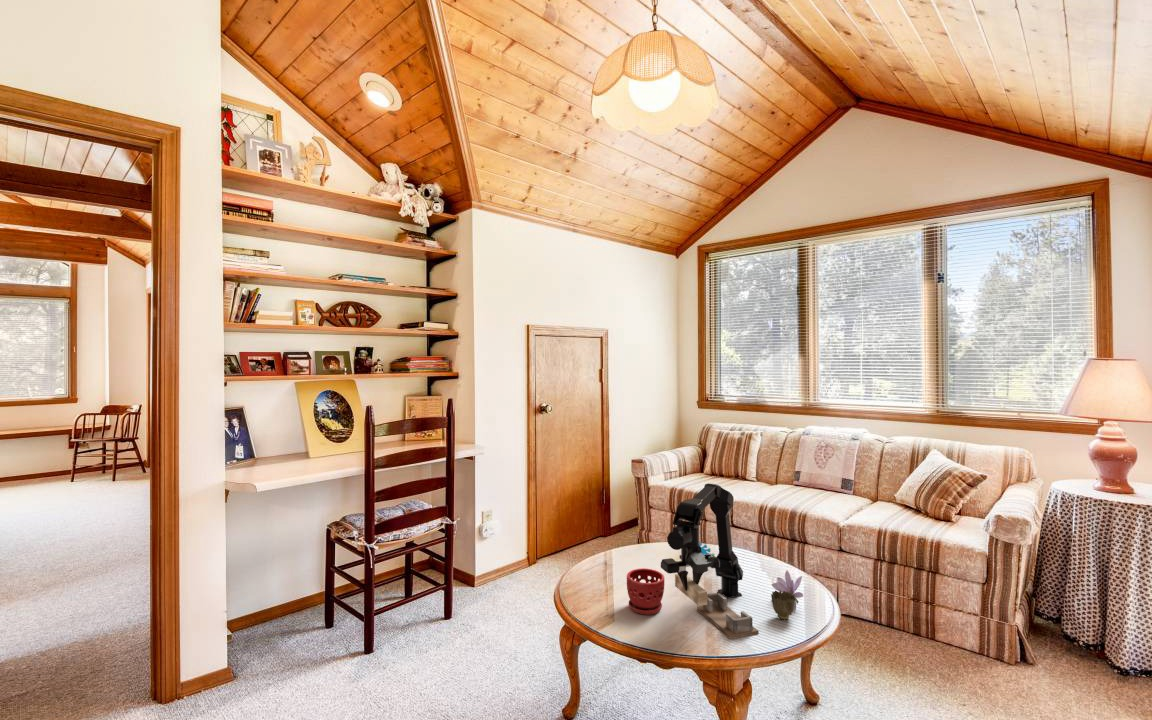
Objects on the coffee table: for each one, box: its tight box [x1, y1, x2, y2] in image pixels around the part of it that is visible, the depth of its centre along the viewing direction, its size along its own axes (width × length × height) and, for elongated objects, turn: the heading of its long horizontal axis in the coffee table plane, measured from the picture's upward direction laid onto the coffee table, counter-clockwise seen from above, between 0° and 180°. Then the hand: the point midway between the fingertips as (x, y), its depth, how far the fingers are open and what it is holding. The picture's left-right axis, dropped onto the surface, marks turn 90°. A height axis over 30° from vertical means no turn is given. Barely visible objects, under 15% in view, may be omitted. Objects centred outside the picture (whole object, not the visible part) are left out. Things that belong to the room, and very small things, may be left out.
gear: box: [699, 541, 715, 556], centre depth 235 cm, size 11×6×10 cm
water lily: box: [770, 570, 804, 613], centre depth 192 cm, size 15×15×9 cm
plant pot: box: [626, 567, 665, 615], centre depth 188 cm, size 13×13×12 cm
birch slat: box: [674, 573, 708, 607], centre depth 176 cm, size 16×3×4 cm, turn 16°
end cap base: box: [697, 592, 760, 639], centre depth 179 cm, size 21×10×5 cm, turn 16°
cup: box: [770, 590, 795, 621], centre depth 180 cm, size 8×7×8 cm
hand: (690, 589), depth 175 cm, fingers closed on birch slat, 3 cm apart
